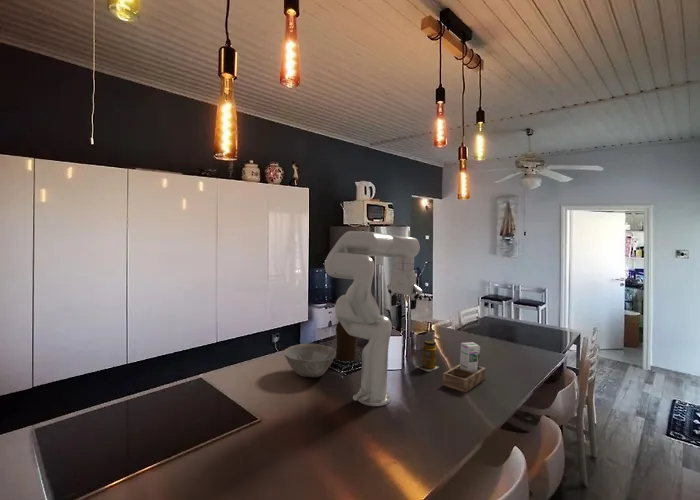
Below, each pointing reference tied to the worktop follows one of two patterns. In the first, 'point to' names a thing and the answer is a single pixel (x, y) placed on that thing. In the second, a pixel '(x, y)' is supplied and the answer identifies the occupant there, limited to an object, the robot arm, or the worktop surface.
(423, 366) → the condiment
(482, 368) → the box
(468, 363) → the syrup box
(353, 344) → the olive oil
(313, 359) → the ceramic bowl
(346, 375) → the worktop surface
